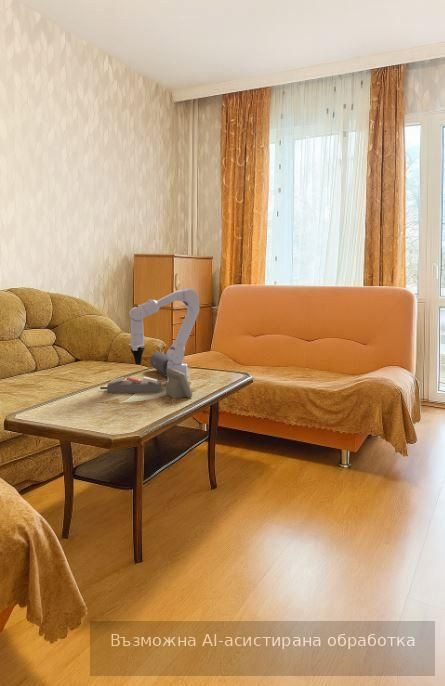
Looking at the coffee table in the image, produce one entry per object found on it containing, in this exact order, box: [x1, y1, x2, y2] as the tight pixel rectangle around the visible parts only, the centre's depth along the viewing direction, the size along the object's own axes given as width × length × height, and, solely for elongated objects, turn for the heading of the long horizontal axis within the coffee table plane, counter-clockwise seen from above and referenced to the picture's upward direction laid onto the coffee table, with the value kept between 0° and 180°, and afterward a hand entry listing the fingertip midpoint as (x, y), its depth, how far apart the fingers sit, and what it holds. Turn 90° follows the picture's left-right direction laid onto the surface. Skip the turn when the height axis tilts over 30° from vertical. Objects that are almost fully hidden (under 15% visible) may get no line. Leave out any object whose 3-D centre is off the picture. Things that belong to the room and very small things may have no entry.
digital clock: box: [165, 368, 193, 399], centre depth 217 cm, size 16×9×11 cm, turn 18°
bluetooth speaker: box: [149, 351, 168, 377], centre depth 261 cm, size 23×9×10 cm, turn 23°
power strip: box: [99, 379, 162, 394], centre depth 226 cm, size 26×8×4 cm, turn 89°
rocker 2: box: [126, 376, 143, 383], centre depth 224 cm, size 6×3×1 cm, turn 90°
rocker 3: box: [142, 376, 158, 383], centre depth 224 cm, size 6×3×1 cm, turn 90°
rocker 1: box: [109, 376, 126, 383], centre depth 224 cm, size 6×3×1 cm, turn 88°
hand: (138, 364), depth 235 cm, fingers closed
